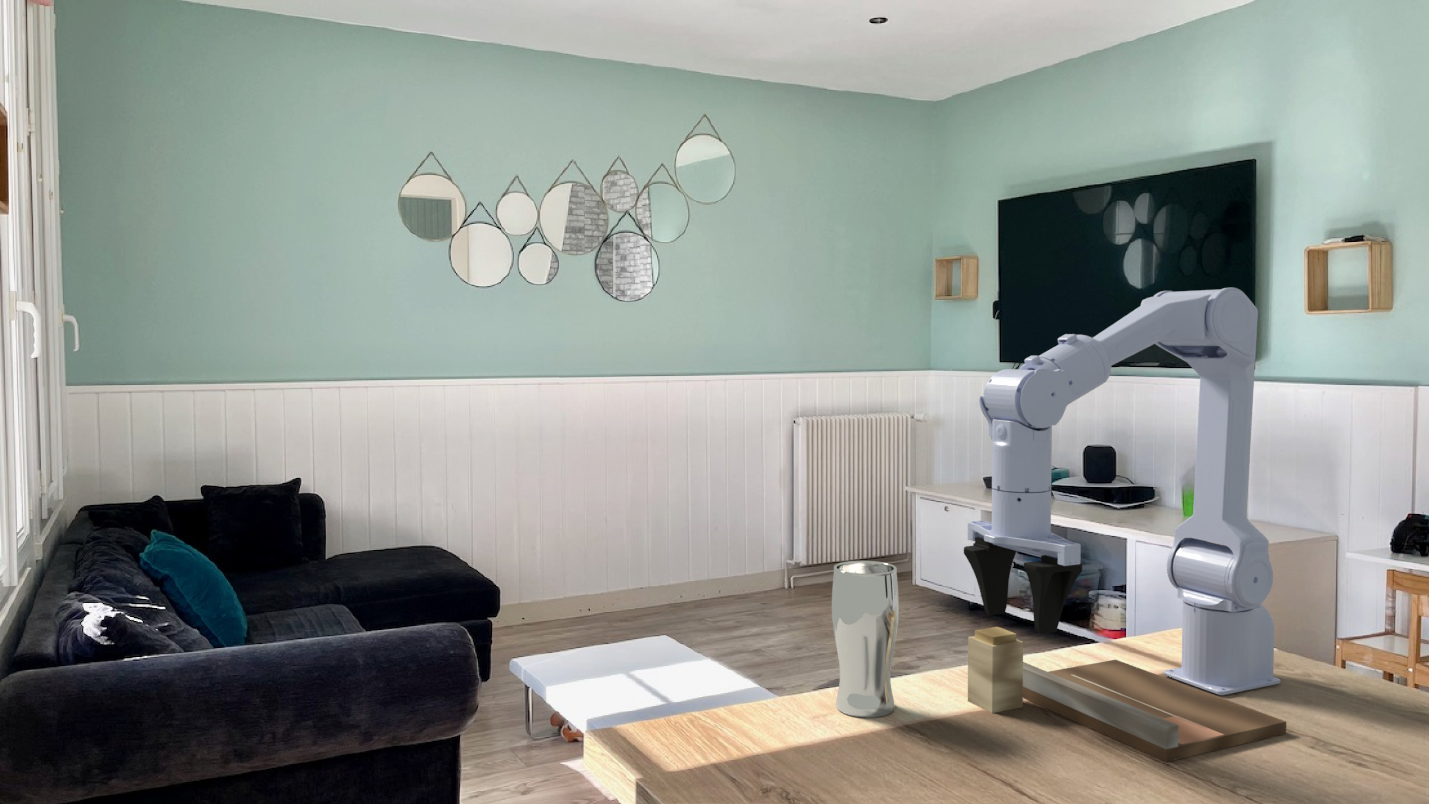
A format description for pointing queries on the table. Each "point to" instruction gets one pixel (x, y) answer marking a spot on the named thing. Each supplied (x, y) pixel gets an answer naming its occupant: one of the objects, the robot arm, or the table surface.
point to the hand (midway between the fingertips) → (1020, 622)
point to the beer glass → (865, 635)
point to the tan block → (995, 670)
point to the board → (1147, 709)
